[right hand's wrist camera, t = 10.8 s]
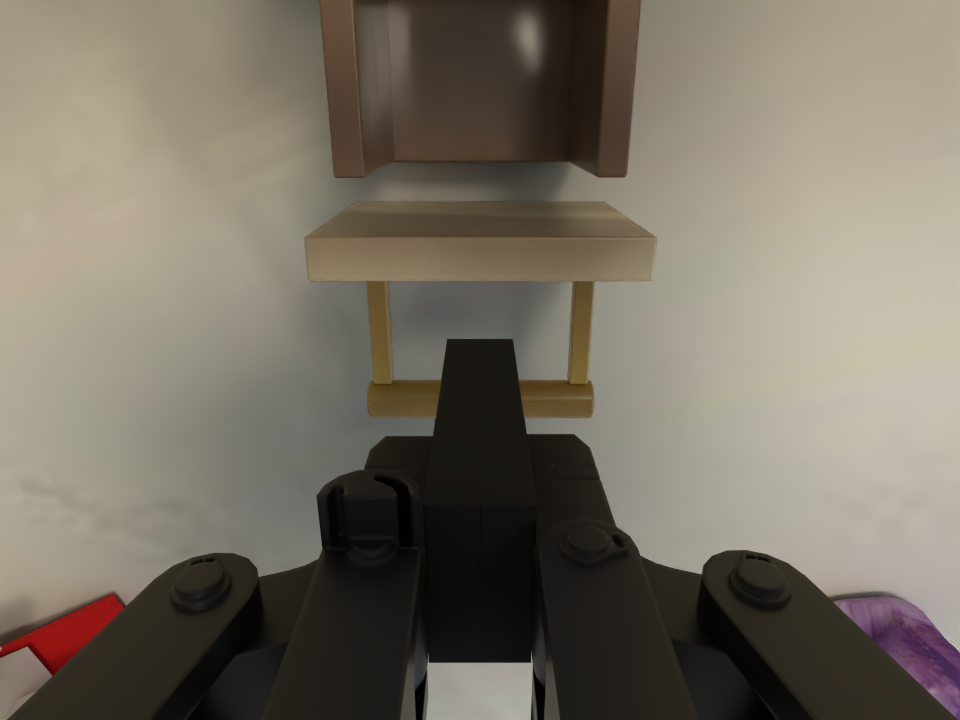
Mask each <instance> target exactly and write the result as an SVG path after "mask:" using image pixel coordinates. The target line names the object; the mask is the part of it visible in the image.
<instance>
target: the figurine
mask: <svg viewBox="0 0 960 720" xmlns="http://www.w3.org/2000/svg"><path fill="white" fill-rule="evenodd" d="M833 602H834V603H835V604H836V605H837V606H838V607H839V608H840V609H841V610H842V611H843V612H844V613H845V614H846V615H847V616H848V617H850V618H851V619H852V620H853V621H854V622H855V623H856V624H857V625H858V626H859V627H860V628H861V629H862V630H863V631H864V632H865V633H867V634H868V635H869V636H870V637H871V638H872V639H873V640H874V641H875V642H876V643H877V644H878V645H879V646H880V647H881V648H882V649H884V650H885V651H886V652H887V653H888V654H889V655H890V656H891V657H892V658H893V659H894V660H895V661H896V662H897V663H898V664H899V665H900V666H902V667H903V668H904V669H905V670H906V671H907V672H908V673H909V674H910V675H911V676H912V677H913V678H914V679H915V680H916V681H917V682H919V683H920V684H921V685H922V686H923V687H924V688H925V689H926V690H927V691H928V692H929V693H930V694H931V695H932V696H933V697H934V698H936V699H937V700H938V701H939V702H940V703H941V704H942V705H943V706H944V707H945V708H946V709H947V710H948V711H949V712H950V713H951V714H953V715H954V716H955V717H956V718H957V719H958V720H960V653H959V651H958V650H957V649H956V648H955V647H954V646H953V645H951V644H950V643H949V642H948V641H947V640H946V639H945V638H944V637H943V635H942V634H941V633H940V632H939V631H938V630H937V628H936V627H935V626H934V625H933V623H932V622H931V621H930V620H929V618H928V617H927V616H926V615H925V613H924V612H923V611H921V610H920V609H919V608H917V607H916V606H915V605H913V604H911V603H909V602H907V601H904V600H902V599H899V598H896V597H893V596H887V595H881V596H876V597H864V598H852V599H842V600H836V601H833Z"/></svg>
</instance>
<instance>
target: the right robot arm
mask: <svg viewBox="0 0 960 720" xmlns="http://www.w3.org/2000/svg"><path fill="white" fill-rule="evenodd" d="M317 504H318V513H319V522H320V531H321V540H322V548H323V549H322V552H321V554H320V557H319V559H318V560H316V561H314V562H311V563H309V564H307V565H305V566H302V567H299V568H295V569H292V570H289V571H284V572H280V573H275V574H271V575H266V576H262V577H258V571H257V568H256V567H255V566H254V565H253V563H252V562H251V561H250V560H249V559H248V558H245V557H242V556H239V555H237V554H234V553H211V554H207V555H202V556H197V557H193V558H190V559H188V560H186V561H184V562H181V563H179V564H177V565H174V566H172V567H171V568H169V569H168V570H167V571H165V572H164V573H163V574H161V575H160V576H158V577H157V578H156V579H155V580H153V581H152V582H151V583H150V584H149V585H148V586H147V587H146V588H145V589H144V590H143V591H142V592H141V593H140V594H139V595H138V596H137V597H136V598H135V599H133V600H132V601H131V602H130V603H129V604H128V605H127V606H126V607H125V608H124V609H123V610H122V611H121V612H120V613H119V614H118V615H117V616H116V617H114V618H113V619H112V620H111V621H110V622H109V623H108V624H107V625H106V626H105V627H104V628H103V629H102V630H101V631H100V632H99V633H98V634H97V635H96V636H94V637H93V638H92V639H91V640H90V641H89V642H88V643H87V644H86V645H85V646H84V647H83V648H82V649H81V650H80V651H79V652H78V653H77V654H75V655H74V656H73V657H72V658H71V659H70V660H69V661H68V662H67V663H66V664H65V665H64V666H63V667H62V668H61V669H60V670H59V671H58V672H57V673H55V674H54V675H53V676H52V677H51V678H50V679H49V680H48V681H47V682H46V683H45V684H44V685H43V686H42V687H41V688H40V689H39V690H38V691H36V692H35V693H34V694H33V695H32V696H31V697H30V698H29V699H28V700H27V701H26V702H25V703H24V704H23V705H22V706H21V707H20V708H19V709H18V710H16V711H15V712H14V713H13V714H12V715H11V716H10V717H9V718H8V719H7V720H426V714H427V702H428V680H427V663H428V653H429V663H531V649H532V660H533V680H532V704H531V720H958V719H957V718H956V717H955V716H954V715H953V714H951V713H950V712H949V711H948V710H947V709H946V708H945V707H944V706H943V705H942V704H941V703H940V702H939V701H938V700H937V699H936V698H934V697H933V696H932V695H931V694H930V693H929V692H928V691H927V690H926V689H925V688H924V687H923V686H922V685H921V684H920V683H919V682H917V681H916V680H915V679H914V678H913V677H912V676H911V675H910V674H909V673H908V672H907V671H906V670H905V669H904V668H903V667H902V666H900V665H899V664H898V663H897V662H896V661H895V660H894V659H893V658H892V657H891V656H890V655H889V654H888V653H887V652H886V651H885V650H884V649H882V648H881V647H880V646H879V645H878V644H877V643H876V642H875V641H874V640H873V639H872V638H871V637H870V636H869V635H868V634H867V633H865V632H864V631H863V630H862V629H861V628H860V627H859V626H858V625H857V624H856V623H855V622H854V621H853V620H852V619H851V618H850V617H848V616H847V615H846V614H845V613H844V612H843V611H842V610H841V609H840V608H839V607H838V606H837V605H836V604H835V603H834V602H833V601H831V600H830V599H829V598H828V597H827V596H826V595H825V594H824V593H823V592H822V591H821V590H820V589H819V588H818V587H817V586H816V585H814V584H813V583H812V582H811V581H810V580H809V579H808V578H807V577H806V576H805V575H803V574H802V573H801V572H799V571H798V570H796V569H795V568H794V567H792V566H791V565H789V564H788V563H786V562H783V561H781V560H779V559H777V558H774V557H772V556H770V555H767V554H762V553H757V552H753V551H748V550H733V551H725V552H722V553H719V554H716V555H713V556H712V557H711V558H710V559H709V560H708V561H707V562H706V563H705V565H704V566H703V571H702V575H701V574H697V573H692V572H688V571H683V570H679V569H674V568H670V567H667V566H663V565H660V564H657V563H654V562H652V561H650V560H648V559H646V558H644V557H642V556H640V554H639V551H638V548H637V547H636V545H635V544H634V542H633V541H632V539H631V538H630V536H629V535H627V534H626V533H624V532H623V531H622V530H620V529H619V528H617V527H616V525H615V522H614V519H613V516H612V513H611V510H610V507H609V504H608V501H607V498H606V495H605V492H604V489H603V486H602V483H601V481H600V477H599V474H598V471H597V468H596V467H595V462H594V459H593V456H592V453H591V450H590V448H589V447H588V446H587V445H586V444H585V443H584V442H582V441H581V440H580V439H579V438H578V437H577V436H576V435H574V434H527V433H526V426H525V420H524V413H523V406H522V399H521V392H520V386H519V379H518V372H517V365H516V359H515V352H514V345H513V339H447V345H446V352H445V359H444V365H443V372H442V379H441V386H440V392H439V399H438V406H437V413H436V420H435V426H434V433H433V436H386V437H384V438H383V439H382V440H381V441H380V442H379V443H378V444H377V445H375V446H374V447H373V448H372V449H371V450H370V452H369V455H368V458H367V461H366V464H365V469H364V470H357V471H354V472H351V473H348V474H344V475H341V476H339V477H337V478H335V479H334V480H332V481H331V482H329V483H327V484H326V485H325V486H324V487H323V488H322V489H321V491H320V492H319V493H318V495H317Z"/></svg>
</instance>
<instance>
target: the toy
mask: <svg viewBox="0 0 960 720" xmlns="http://www.w3.org/2000/svg"><path fill="white" fill-rule="evenodd" d="M123 609H124V607H123V606H122V604H121V603H120V602H119V601H118V600H117V598H116V597H115V596H114V595H113V594H111V595H108V596H106V597H104V598H102V599H100V600H98V601H96V602H94V603H92V604H89V605H87V606H85V607H83V608H81V609H79V610H77V611H75V612H72V613H70V614H68V615H66V616H64V617H62V618H60V619H58V620H55V621H53V622H51V623H49V624H47V625H45V626H43V627H41V628H38V629H36V630H34V631H32V632H30V633H28V634H26V635H24V636H21V637H19V638H17V639H15V640H13V641H11V642H9V643H7V644H4V645H2V646H0V720H7V719H8V718H9V717H10V716H11V715H12V714H13V713H14V712H15V711H16V710H18V709H19V708H20V707H21V706H22V705H23V704H24V703H25V702H26V701H27V700H28V699H29V698H30V697H31V696H32V695H33V694H34V693H35V692H36V691H38V690H39V689H40V688H41V687H42V686H43V685H44V684H45V683H46V682H47V681H48V680H49V679H50V678H51V677H52V676H53V675H54V674H55V673H57V672H58V671H59V670H60V669H61V668H62V667H63V666H64V665H65V664H66V663H67V662H68V661H69V660H70V659H71V658H72V657H73V656H74V655H75V654H77V653H78V652H79V651H80V650H81V649H82V648H83V647H84V646H85V645H86V644H87V643H88V642H89V641H90V640H91V639H92V638H93V637H94V636H96V635H97V634H98V633H99V632H100V631H101V630H102V629H103V628H104V627H105V626H106V625H107V624H108V623H109V622H110V621H111V620H112V619H113V618H114V617H116V616H117V615H118V614H119V613H120V612H121V611H122V610H123Z"/></svg>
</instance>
